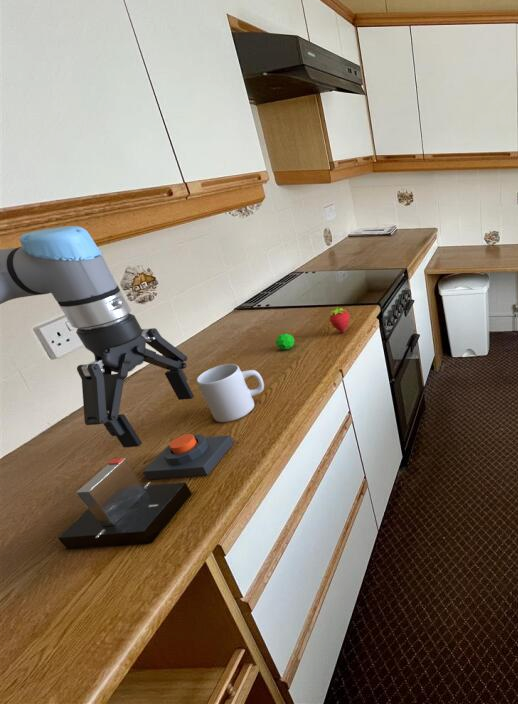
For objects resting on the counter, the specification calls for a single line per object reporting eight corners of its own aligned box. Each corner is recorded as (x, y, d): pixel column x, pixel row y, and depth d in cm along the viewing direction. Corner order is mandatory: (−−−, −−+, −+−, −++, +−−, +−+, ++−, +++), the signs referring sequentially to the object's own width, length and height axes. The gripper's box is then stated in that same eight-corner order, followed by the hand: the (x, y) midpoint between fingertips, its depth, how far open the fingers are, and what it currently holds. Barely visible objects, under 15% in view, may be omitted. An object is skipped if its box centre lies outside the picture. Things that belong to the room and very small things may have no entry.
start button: (168, 455, 81) (164, 448, 80) (182, 441, 85) (178, 434, 84) (188, 453, 81) (184, 447, 80) (201, 439, 85) (198, 433, 84)
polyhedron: (299, 346, 127) (294, 333, 125) (284, 353, 123) (279, 340, 121) (290, 343, 130) (286, 329, 128) (275, 350, 126) (270, 336, 124)
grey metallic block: (113, 525, 67) (87, 490, 64) (101, 526, 67) (75, 491, 64) (146, 491, 74) (124, 457, 70) (135, 492, 74) (113, 458, 70)
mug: (213, 427, 94) (194, 388, 89) (215, 409, 100) (197, 371, 95) (271, 407, 99) (256, 369, 94) (269, 391, 106) (254, 355, 101)
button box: (146, 479, 80) (137, 464, 78) (178, 447, 88) (171, 432, 87) (207, 475, 80) (199, 460, 79) (234, 443, 88) (227, 428, 87)
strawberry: (354, 326, 138) (347, 299, 134) (352, 336, 131) (344, 307, 127) (335, 329, 137) (328, 302, 132) (332, 339, 130) (324, 311, 126)
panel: (63, 553, 67) (52, 540, 65) (120, 496, 77) (112, 484, 75) (148, 546, 67) (139, 534, 65) (194, 491, 77) (187, 479, 75)
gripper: (53, 357, 57) (127, 468, 66) (179, 291, 79) (221, 381, 89) (0, 361, 57) (82, 472, 66) (141, 294, 79) (187, 383, 89)
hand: (162, 420), depth 78 cm, fingers open, 13 cm apart
